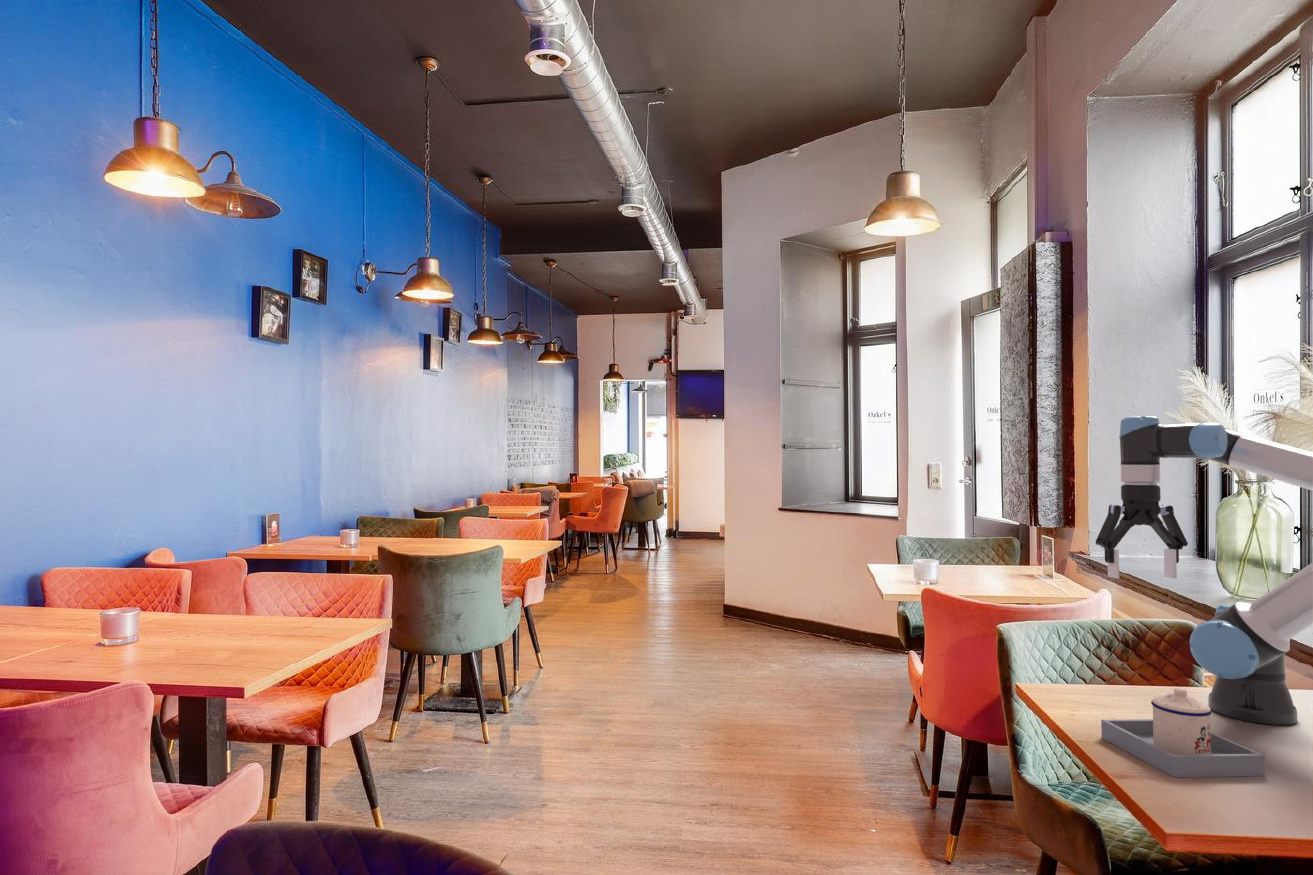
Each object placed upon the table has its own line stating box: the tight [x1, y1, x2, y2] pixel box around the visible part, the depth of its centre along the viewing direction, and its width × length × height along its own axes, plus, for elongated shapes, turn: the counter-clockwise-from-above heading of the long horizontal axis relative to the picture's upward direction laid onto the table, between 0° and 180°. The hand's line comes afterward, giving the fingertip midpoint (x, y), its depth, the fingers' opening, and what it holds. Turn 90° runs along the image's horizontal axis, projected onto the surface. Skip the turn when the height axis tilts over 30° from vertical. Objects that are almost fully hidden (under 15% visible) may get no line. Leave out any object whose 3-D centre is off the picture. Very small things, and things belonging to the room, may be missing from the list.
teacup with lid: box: [1150, 687, 1213, 755], centre depth 136 cm, size 12×9×12 cm
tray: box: [1100, 718, 1266, 778], centre depth 136 cm, size 17×19×4 cm
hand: (1142, 577), depth 166 cm, fingers open, 13 cm apart
